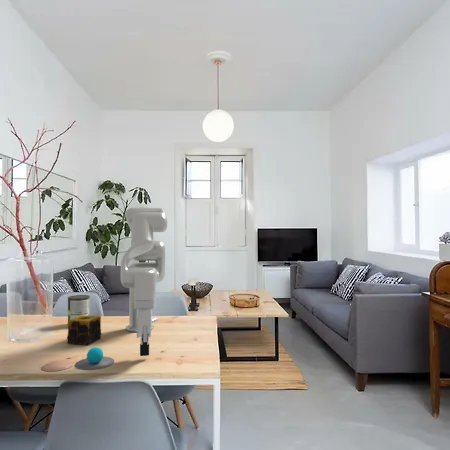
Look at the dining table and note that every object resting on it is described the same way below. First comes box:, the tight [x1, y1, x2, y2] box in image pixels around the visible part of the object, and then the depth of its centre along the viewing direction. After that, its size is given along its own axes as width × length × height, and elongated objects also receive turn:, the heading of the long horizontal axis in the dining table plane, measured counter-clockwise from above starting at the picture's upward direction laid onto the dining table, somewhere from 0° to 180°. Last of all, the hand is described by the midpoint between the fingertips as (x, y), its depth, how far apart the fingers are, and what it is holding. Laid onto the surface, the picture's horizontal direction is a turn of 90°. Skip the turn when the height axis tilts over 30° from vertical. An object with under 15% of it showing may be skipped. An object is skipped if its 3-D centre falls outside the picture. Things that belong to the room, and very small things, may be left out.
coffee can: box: [67, 294, 90, 321], centre depth 186 cm, size 10×10×14 cm
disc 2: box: [74, 356, 115, 371], centre depth 130 cm, size 13×13×1 cm
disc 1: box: [41, 360, 75, 372], centre depth 127 cm, size 10×10×1 cm
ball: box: [86, 346, 104, 364], centre depth 130 cm, size 6×6×6 cm
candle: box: [66, 315, 102, 346], centre depth 157 cm, size 10×10×10 cm
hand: (144, 355), depth 134 cm, fingers closed
